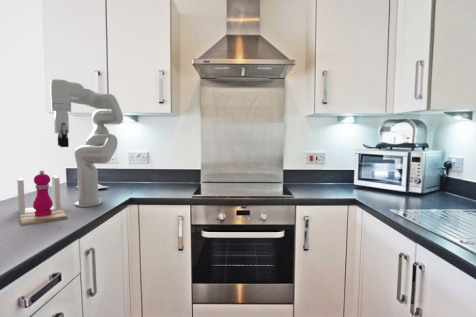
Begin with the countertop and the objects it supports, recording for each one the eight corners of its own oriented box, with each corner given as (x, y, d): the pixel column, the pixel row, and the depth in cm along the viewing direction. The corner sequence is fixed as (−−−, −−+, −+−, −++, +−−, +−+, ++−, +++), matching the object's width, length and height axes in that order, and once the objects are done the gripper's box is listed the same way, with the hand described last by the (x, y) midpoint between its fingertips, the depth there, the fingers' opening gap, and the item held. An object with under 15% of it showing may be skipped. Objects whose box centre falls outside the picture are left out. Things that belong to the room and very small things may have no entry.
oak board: (19, 216, 126) (19, 213, 125) (61, 210, 136) (61, 208, 136) (21, 225, 113) (21, 222, 113) (67, 218, 124) (67, 215, 124)
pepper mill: (30, 217, 120) (28, 171, 119) (37, 212, 127) (35, 169, 126) (49, 216, 122) (47, 171, 121) (55, 212, 129) (54, 169, 128)
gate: (18, 210, 135) (17, 177, 134) (57, 205, 146) (56, 175, 144) (19, 214, 128) (18, 180, 127) (60, 209, 138) (59, 177, 137)
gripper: (50, 108, 129) (51, 145, 131) (52, 106, 115) (54, 147, 117) (68, 109, 134) (70, 145, 135) (73, 107, 120) (75, 147, 122)
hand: (63, 146), depth 126 cm, fingers open, 9 cm apart
